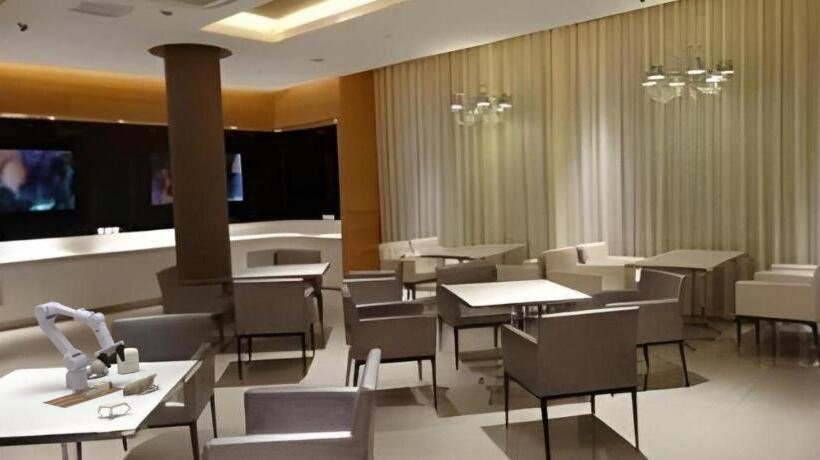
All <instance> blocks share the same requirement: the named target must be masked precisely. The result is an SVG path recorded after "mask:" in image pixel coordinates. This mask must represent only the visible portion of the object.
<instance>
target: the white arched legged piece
mask: <svg viewBox="0 0 820 460" xmlns="http://www.w3.org/2000/svg"><path fill="white" fill-rule="evenodd" d="M123 405H125V406H126V407H127V408H128V409H127V410H126V411H125V412H124V413H125V415H126V416H127V415H128V412H129V411H130V410H131V409H132V407H131V406H130V405H129V404H128V403H127V402H109V403H106V404H103V405H99V406H98V409H97V414H98V415H100V418H102V417H103V414H101V412H100V411H101V409H109V413H108V415H109V416H111V418H110V419H111V420H113V419H112V418H114V415H113V414H114V413H113V412H114V411H113V409H114V408H117V407H120V406H123Z"/></svg>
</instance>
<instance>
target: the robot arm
mask: <svg viewBox="0 0 820 460" xmlns="http://www.w3.org/2000/svg"><path fill="white" fill-rule="evenodd" d="M58 314H59V315H64V316H68V317H71V318H73V320H74V321H76V322H78V323H83V324H85V325H87V327H89V328H91V330H92V331H93V332H94V335H95V337H96V339H97V342H98V343H99V345H100V347H101V349H100V350H98V351H95V352H94V353H93V355H94V357H95V358H96V360H100V361H101V362H103V363H104V364H105V366H106V368H107V369H111V368H112V365H111V362H110V360H109V356H108V353H107V352H109V351H111V350H114V352H116V355H117V354H118V355H119V357H120V360H121V361H122V362H123V361H125V355H124V349H126V348H125V346H126V345H125V342H124V340H120V341H118V342H116V343H115V341H114V339H113V338H112V335H111V333H110V331H109V329H108V326H107V324H106V320H107V319H106V316H105V314H103V313H102V312H94V311H90V310H86V308H78V309H74V308H71V307H69V306H66V305H64V304H61V303H60V302H55V301H50V302H46V303H43V304H38V305H36V306H35V308H34V312H33V316H34V317H35V319H36V320H37V322H38V326H39V328H40V329H41V330H42V332H43V333H44V334H45V336H46V337H47V338H48V339H49V340H50V342H51V343H52V344H53V345H54V346H55V347H56V349H57V350H58V351H59V352H60V353H61V355H63V359H62V362H63V363H64V365H65V368H66V370H67V371H66V374H65V383H66V389H67V388H69V389H71V390H75V389H78V388H82V387H85V386H89V383H88V379H87V369H88V365H89V362H90V357H89V356H88V355H87V354H86V353H85V352H83V351H82V350H80V349H77V348H74V346H73V345H72V343H71V342H70V341H69V340H68V339H67V337H65V335H64V334H63V333H62V332H61V330H60V329H59V328H58V327H57V325H56V324H55V319H57V316H58Z"/></svg>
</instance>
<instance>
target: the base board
mask: <svg viewBox="0 0 820 460" xmlns="http://www.w3.org/2000/svg"><path fill="white" fill-rule="evenodd" d="M90 389H91V390H92V389H95V388H94V386H93V387H90ZM123 389H124V388H123V387H119V386H114V385H112V387H109V389H108V390H105V391H102V392H101V394H100V395H97V396H93V397H90V398H87V399H86V398H83V394H82V395H79V396H73V393H70V394H66V395H63V396H60V397H56V398H52V399H50V400H46V401H43V402H42V404H46V405H50V406H54V407H59V408H63V409H67V408H69V407H70V408H71V407H73V406H76V405H79V404H83V403H86V402H89V401H91V400H96V399H97V398H101V397H104V396H108V395H111V394H114V393H117V392H120V391H123Z"/></svg>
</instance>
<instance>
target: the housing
mask: <svg viewBox="0 0 820 460" xmlns="http://www.w3.org/2000/svg"><path fill="white" fill-rule="evenodd" d="M90 388H91V386H90V385H88V386H85V387H82V388H78V389H72V394H73V396H79V395H82V394H83V398H86V399H87V398H90V397H93V396H97V395H100V394H101V389H100V388H95V389H92V390H91V389H90Z"/></svg>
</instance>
